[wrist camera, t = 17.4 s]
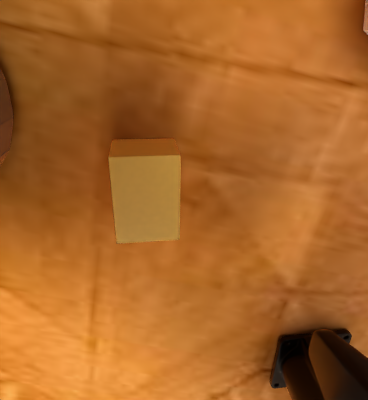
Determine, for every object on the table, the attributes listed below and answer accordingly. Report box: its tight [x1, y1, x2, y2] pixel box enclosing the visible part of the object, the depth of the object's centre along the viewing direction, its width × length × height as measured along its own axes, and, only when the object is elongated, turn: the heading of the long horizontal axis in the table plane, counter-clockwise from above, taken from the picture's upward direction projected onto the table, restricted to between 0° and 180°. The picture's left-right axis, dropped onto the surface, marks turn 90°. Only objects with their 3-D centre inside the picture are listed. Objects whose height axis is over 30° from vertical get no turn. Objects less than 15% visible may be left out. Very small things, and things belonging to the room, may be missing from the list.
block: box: [108, 138, 181, 244], centre depth 18 cm, size 5×4×3 cm
